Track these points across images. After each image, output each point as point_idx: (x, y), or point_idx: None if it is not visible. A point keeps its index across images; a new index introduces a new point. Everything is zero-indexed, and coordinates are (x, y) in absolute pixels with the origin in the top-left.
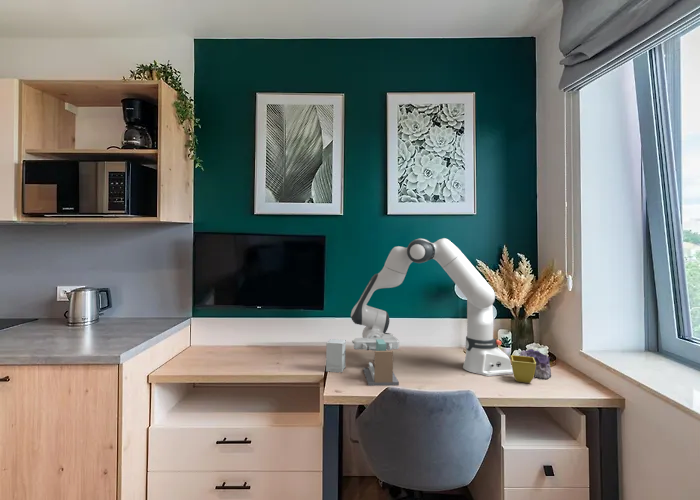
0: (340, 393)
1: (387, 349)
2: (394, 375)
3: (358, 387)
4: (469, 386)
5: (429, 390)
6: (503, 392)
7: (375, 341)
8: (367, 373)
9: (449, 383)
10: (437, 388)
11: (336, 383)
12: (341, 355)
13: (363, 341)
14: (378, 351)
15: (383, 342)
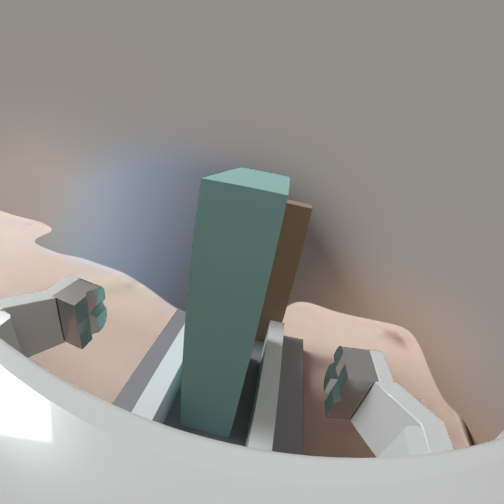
0: (384, 326)
1: (98, 327)
2: (144, 362)
3: (337, 346)
4: (18, 250)
5: (116, 270)
6: (13, 225)
7: (184, 437)
8: (289, 433)
9: (27, 271)
10: (85, 269)
11: (417, 384)
12: (502, 433)
13: (462, 456)
14: (293, 201)
15: (246, 172)
